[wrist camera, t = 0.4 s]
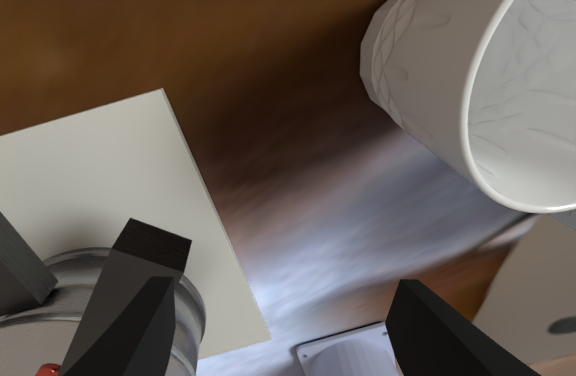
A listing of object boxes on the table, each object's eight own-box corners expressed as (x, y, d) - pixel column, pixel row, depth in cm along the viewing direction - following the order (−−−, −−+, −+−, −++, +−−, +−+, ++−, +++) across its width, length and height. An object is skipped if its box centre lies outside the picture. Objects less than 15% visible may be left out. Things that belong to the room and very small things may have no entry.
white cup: (332, 116, 18) (417, 203, 9) (370, -52, 14) (565, -178, 6) (455, 133, 19) (633, 222, 10) (515, -17, 16) (857, -75, 7)
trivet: (270, 334, 25) (271, 339, 25) (70, 390, 26) (67, 396, 25) (162, 87, 16) (160, 89, 16) (-150, 179, 16) (-161, 183, 16)
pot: (241, 368, 26) (240, 435, 22) (99, 408, 26) (71, 481, 22) (107, 126, 16) (58, 161, 12) (-120, 193, 16) (-249, 251, 12)
